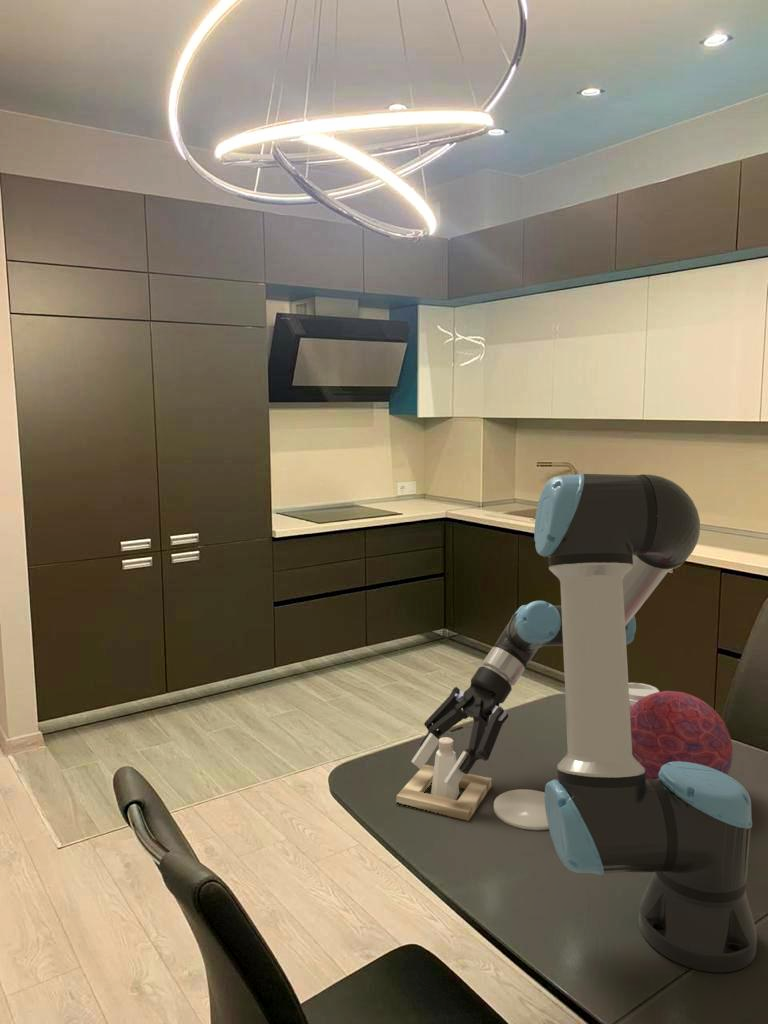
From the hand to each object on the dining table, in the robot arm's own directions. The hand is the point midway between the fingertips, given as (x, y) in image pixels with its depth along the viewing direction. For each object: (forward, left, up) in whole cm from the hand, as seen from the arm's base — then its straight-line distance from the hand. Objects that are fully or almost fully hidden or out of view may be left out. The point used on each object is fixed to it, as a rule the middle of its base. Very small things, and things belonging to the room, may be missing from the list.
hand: (432, 775), depth 142 cm
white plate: (+4, -18, -5) cm, 19 cm away
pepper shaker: (+3, -2, -5) cm, 6 cm away
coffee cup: (+35, -33, -5) cm, 48 cm away
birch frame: (+3, -2, -5) cm, 6 cm away
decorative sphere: (+21, -41, -5) cm, 46 cm away
